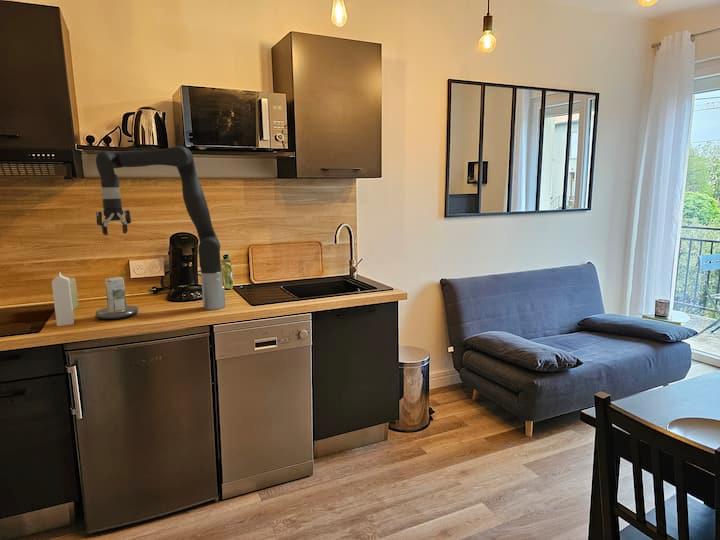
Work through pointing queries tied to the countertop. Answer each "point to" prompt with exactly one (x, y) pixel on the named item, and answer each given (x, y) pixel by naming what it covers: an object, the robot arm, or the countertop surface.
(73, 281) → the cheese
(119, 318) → the turntable base
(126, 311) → the disc
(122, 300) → the syrup box
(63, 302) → the milk
